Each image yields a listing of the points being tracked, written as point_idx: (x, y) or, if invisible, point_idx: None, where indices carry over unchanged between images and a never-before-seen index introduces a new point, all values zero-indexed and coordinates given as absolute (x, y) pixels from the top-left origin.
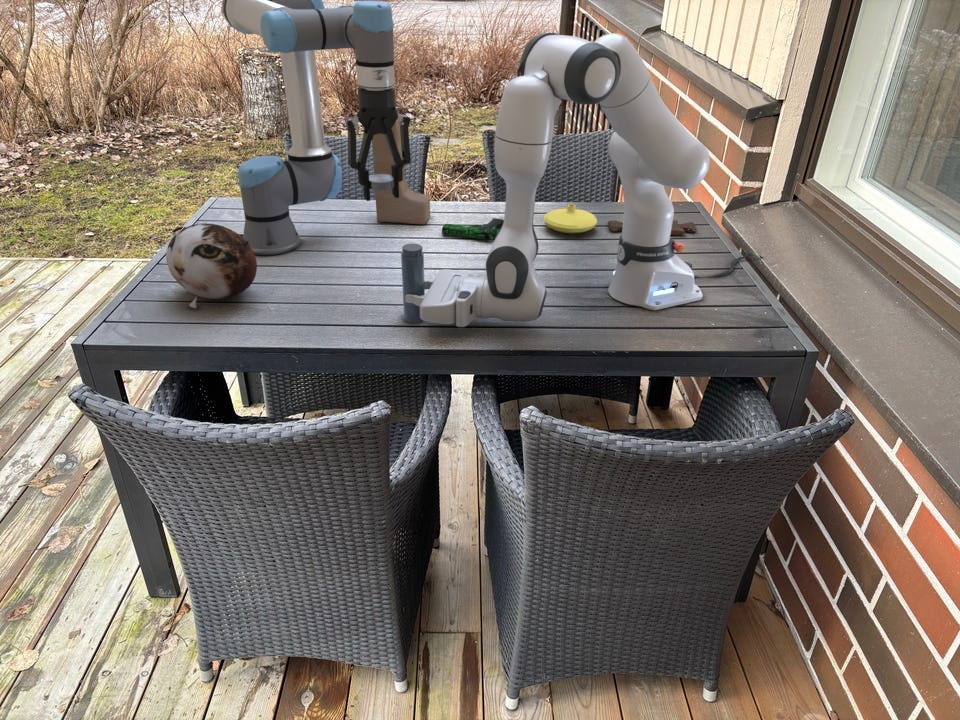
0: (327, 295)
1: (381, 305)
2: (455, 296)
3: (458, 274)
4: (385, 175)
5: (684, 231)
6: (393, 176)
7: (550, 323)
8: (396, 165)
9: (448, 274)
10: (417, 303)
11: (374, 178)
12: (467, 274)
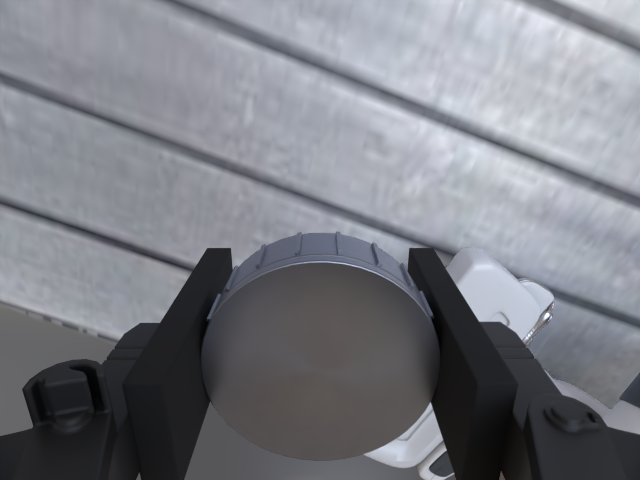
0: (162, 83)
1: (295, 198)
2: (428, 451)
3: (508, 314)
4: (384, 320)
5: None
6: (439, 378)
7: (613, 399)
8: (508, 470)
9: (481, 305)
10: None
11: (264, 366)
12: (532, 322)
